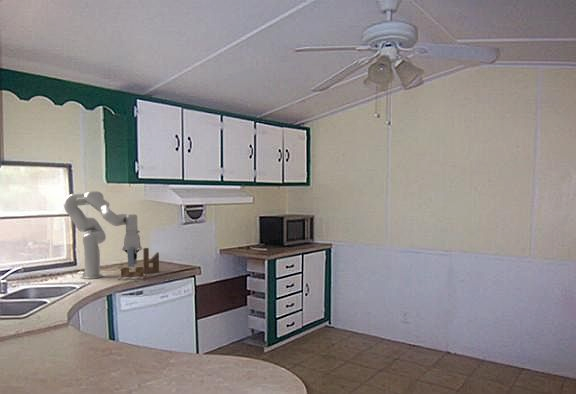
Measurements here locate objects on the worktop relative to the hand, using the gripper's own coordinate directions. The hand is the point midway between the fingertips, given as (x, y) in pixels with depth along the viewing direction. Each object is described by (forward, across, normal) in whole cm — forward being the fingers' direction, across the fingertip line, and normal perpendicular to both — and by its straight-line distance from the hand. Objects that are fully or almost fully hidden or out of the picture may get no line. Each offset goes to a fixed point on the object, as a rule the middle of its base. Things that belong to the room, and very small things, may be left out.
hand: (132, 259), depth 283 cm
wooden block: (+13, -9, -17) cm, 23 cm away
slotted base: (+13, 0, 0) cm, 13 cm away
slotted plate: (+4, 0, 0) cm, 4 cm away
